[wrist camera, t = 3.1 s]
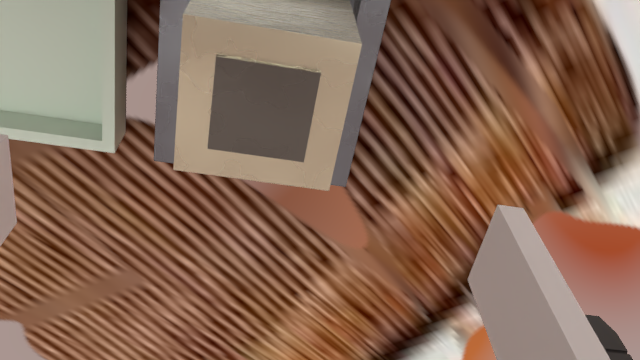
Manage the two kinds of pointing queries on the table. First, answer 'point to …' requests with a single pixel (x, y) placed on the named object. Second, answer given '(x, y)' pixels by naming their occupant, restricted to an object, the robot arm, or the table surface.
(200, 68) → the square wooden post
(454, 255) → the table surface
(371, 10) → the grey compartment tray
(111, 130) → the parts tray
